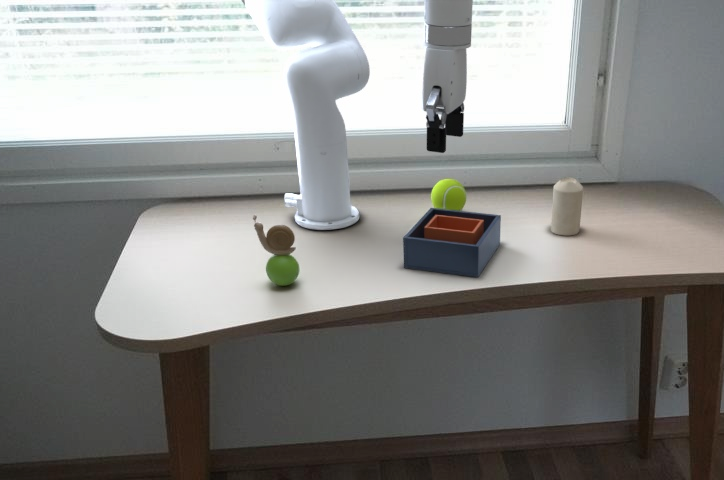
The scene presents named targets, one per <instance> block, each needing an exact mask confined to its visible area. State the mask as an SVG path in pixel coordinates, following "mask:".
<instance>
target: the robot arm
mask: <svg viewBox="0 0 724 480" xmlns="http://www.w3.org/2000/svg"><path fill="white" fill-rule="evenodd" d="M241 2H242V3H243V5H244V7H245V9H246V10H247V12H248V13H249V15H250V17H251V18H252V20H253V22H254V24H255V25H256V27H257V28H258V30H259V31H260V33H261V35H262V36H263V38H264V39H265V41H266V42H267V44H268V45H270V46H271V47H273V48H274V49H276V50H281V51H287V50H294V49H298V48H302V49H300V50H298V51H296V52H295V53H293V54H292V55H291V56H290V57H289V58H288V59H287V60H286V62H285V63H284V67H283V70H282V71H283V72H282V80H283V86H284V91H285V92H286V96H287V99H288V104H289V108H290V111H291V118H292V124H293V132H294V141H295V152H296V163H297V173H298V180H299V181H298V183H299V191H300V192H299V193H300V194H295V193H288V192H287V193H285V194H284V196H283V201H284V206H285V207H287V208H295V209H296V212H295V213H294V221H295V223H297V225H298V226H300V227H302V228H305V229H309V230H314V231H315V230H317V231H331V230H338V229H345V228H347V227H350V226H352V225H354V224H356V223H357V222H358V221H359V219H360V211H359V209H357V207H355V206H353V205H352V204H351V201H352V199H351V187H350V171H349V158H348V157H349V156H348V141H347V131H346V124H345V120H344V118H343V115H342V114H341V112H340V110H339V108H338V105H337V100H339V99H342V98H345V97H349V96H351V95H354V94H357V93H359V92H361V91H362V90H363V89H364V88H365V87H366V86H367V84H368V82H369V79H370V74H371V70H370V63H369V59H368V57H367V54H366V52H365V50H364V48H363V47H362V45H361V43H360V41H359V40H358V38H357V36H356V34H355V32H354V31H353V29H352V28H351V26H350V23H348V20H347V19H346V17H345V16H344V14H343V12H342V11H341V9H340V7H339V6H338V4H337V3H336V1H335V0H241ZM473 2H474V0H424V3H423V4H424V5H423V7H424V9H423V10H424V11H423V12H424V13H423V14H424V15H423V19H424V20H423V21H424V22H423V25H424V27H423V46H425V47H426V49H425V54H424V63H423V75H422V76H423V77H422V92H421V93H422V95H421V108H422V110H423V111H424V112H426V116H425V119H426V123H425V124H426V125H425V126H426V151H427V152H431V153H438V154H439V153H440V154H444V153H446V151H447V136H449V137H458V138H462V137H463V136H464V120H465V113H464V111H465V104H464V103H465V100H466V96H467V83H468V82H467V81H468V80H467V79H468V77H467V76H468V64H467V63H468V58H467V57H468V56H467V55H468V54H467V49H469V48H471V47H472V29H473V27H472V26H473V21H472V20H473V5H474V4H473ZM307 46H311V47H307ZM303 47H306V48H303ZM439 115H440V116H439Z"/></svg>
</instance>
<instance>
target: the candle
mask: <svg viewBox="0 0 724 480" xmlns="http://www.w3.org/2000/svg"><path fill="white" fill-rule="evenodd" d="M583 197H584V186H583V185H582V184H581V182H579V181H578V180H577V179H575V177H572V176H570V177H564V178H563V179H562V178H560V179H559V180H558V181H557V182H556V183H555V184H554V185H553V190H552V204H551V218H550V219H551V221H550V231H551V232H552V233H553V234H556V235H559V236H574V235H577V234H578V233H579V232H580V229H581V219H582V218H581V217H582V207H583Z"/></svg>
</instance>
